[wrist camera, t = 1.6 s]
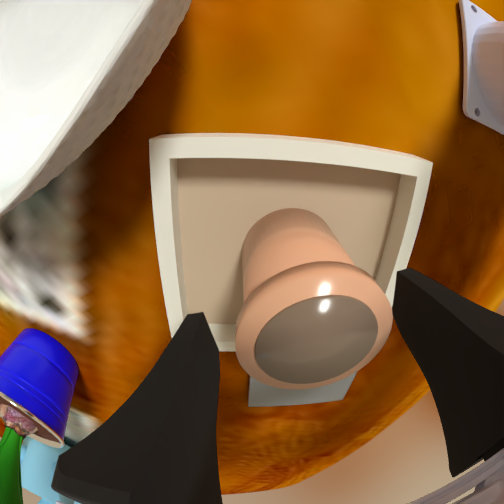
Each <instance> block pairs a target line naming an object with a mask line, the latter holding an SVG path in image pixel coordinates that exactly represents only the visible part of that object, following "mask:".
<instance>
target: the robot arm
mask: <svg viewBox="0 0 504 504" xmlns="http://www.w3.org/2000/svg"><path fill="white" fill-rule="evenodd" d="M459 6H460V13H461V22H462V33H463V50H464V89H463V112H464V114H465V116H467V117H468V118H471V119H473V120H475V121H477V122H479V123H481V124H483V125H485V126H487V127H489V128H491V129H493V130H495V131H497V132H499V133H500V134H502V135H504V21H500V22H498V21H496V20H495V19H494V18H493V17H491V16H490V15H489V14H487V13H486V12H485V11H483V10H482V9H480V8H479V7H478V6H476V5H475V4H473V3H472V2H470V1H469V0H459ZM475 110H476V114H475ZM392 314H393V317H394V319H395V322H396V324H397V326H398V329H399V331H400V333H401V335H402V337H403V339H404V340H405V342H406V344H407V345H408V347H409V349H410V351H411V352H412V354H413V356H414V358H415V359H416V361H417V363H418V365H419V367H420V368H421V370H422V372H423V374H424V376H425V378H426V380H427V382H428V384H429V387H430V389H431V392H432V395H433V397H434V400H435V403H436V406H437V409H438V412H439V416H440V419H441V423H442V427H443V431H444V436H445V440H446V446H447V453H448V459H449V469H450V472H451V475H452V477H455V476H457V475H459V474H460V473H462V472H464V471H465V470H467V469H469V468H470V467H472V466H473V465H475V464H476V463H478V462H480V461H481V460H483V459H484V461H485V462H484V463H482V464H481V465H479V466H478V467H476V468H475V469H473V470H472V471H470V472H468V473H467V474H465V475H463V476H462V477H460V478H458V479H457V480H455V481H453V482H451V483H449V484H447V485H446V486H444V487H442V488H440V489H438V490H436V491H434V492H432V493H430V494H428V495H426V496H424V497H421V498H419V499H417V500H415V501H412V502H410V503H408V504H446V503H448V502H449V501H451V500H453V499H455V498H456V497H458V496H460V495H462V494H463V493H465V492H467V491H468V490H470V489H472V488H473V487H475V486H476V485H477V486H476V487H475V491H474V492H473V493H472V494H470V495H468V496H466V497H464V498H462V499H460V500H458V501H456V502H454V503H453V504H504V316H502V315H500V314H497V313H495V312H493V311H490V310H488V309H486V308H484V307H482V306H480V305H478V304H476V303H474V302H472V301H470V300H468V299H466V298H464V297H462V296H460V295H459V294H457V293H455V292H453V291H452V290H450V289H448V288H446V287H445V286H443V285H441V284H439V283H438V282H436V281H434V280H432V279H431V278H429V277H427V276H425V275H423V274H422V273H420V272H418V271H416V270H414V269H412V268H407V269H404V270H400V271H397V274H396V283H395V292H394V299H393V306H392ZM219 381H220V362H219V349H218V346H217V344H216V342H215V339H214V337H213V334H212V332H211V330H210V327H209V325H208V322H207V320H206V317H205V315H204V312H199V313H193V314H187V316H186V317H185V319H184V320H183V322H182V323H181V325H180V327H179V328H178V330H177V331H176V333H175V335H174V336H173V338H172V340H171V341H170V343H169V344H168V346H167V347H166V349H165V350H164V352H163V354H162V355H161V357H160V358H159V360H158V361H157V363H156V364H155V365H154V367H153V368H152V370H151V371H150V372H149V374H148V375H147V377H146V378H145V379H144V381H143V382H142V383H141V384H140V386H139V387H138V388H137V389H136V391H135V392H134V393H133V394H132V395H131V396H130V397H129V399H128V400H127V401H126V402H125V403H124V404H123V405H122V406H121V407H120V408H119V409H118V410H117V411H116V412H115V413H114V414H113V415H112V416H111V417H110V418H109V419H108V420H107V421H106V422H104V423H103V424H102V425H101V426H100V427H99V428H97V429H96V430H95V431H94V432H92V433H91V434H90V435H89V436H87V437H86V438H85V439H83V440H82V441H81V442H79V443H78V444H76V445H75V446H73V447H72V448H70V449H68V450H67V451H65V452H64V453H62V454H60V455H59V456H58V460H57V464H56V467H55V471H54V475H53V480H52V484H51V488H52V489H53V490H54V491H55V492H57V493H59V494H61V495H63V496H65V497H67V498H69V499H72V500H74V501H76V502H78V503H81V504H223V503H222V497H221V490H220V482H219V472H218V461H217V445H216V420H217V406H218V394H219ZM56 504H64V503H62V502H60V501H56Z"/></svg>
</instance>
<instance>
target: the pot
mask: <svg viewBox="0 0 504 504" xmlns="http://www.w3.org/2000/svg"><path fill="white" fill-rule="evenodd" d="M242 270H243V301H244V303H243V305H242V307H241V309H240V311H239V313H238V316H237V319H236V326H235V349H236V355H237V359H238V361H239V363H240V365H241V367H242V368H243V369H244V370H245V372H246V373H248V374H249V375H250V376H251V377H253V378H254V379H256V380H257V381H259V382H261V383H263V384H266V385H269V386H272V387H277V388H282V389H310V388H316V387H321V386H325V385H328V384H331V383H334V382H337V381H339V380H342V379H344V378H346V377H348V376H350V375H352V374H353V373H355V372H357V371H358V370H360V369H361V368H362V367H364V366H365V365H366V364H368V363H369V362H370V361H371V360H372V359H373V358H374V357H375V356H376V355H377V354H378V352H379V351H380V350H381V349H382V347H383V346H384V344H385V342H386V341H387V339H388V336H389V334H390V331H391V327H392V322H393V314H392V308H391V305H390V302H389V301H388V299H387V297H386V295H385V294H384V292H383V291H382V289H381V288H380V286H379V285H378V283H377V282H376V281H375V280H374V278H373V277H372V276H371V275H369V274H368V273H367V272H366V271H364V270H362V269H360V268H359V267H356V266H355V264H354V263H353V261H352V260H351V258H350V257H349V255H348V254H347V252H346V251H345V249H344V248H343V246H342V245H341V243H340V242H339V240H338V239H337V237H336V236H335V235H334V233H333V232H332V230H331V229H330V227H329V226H328V225H327V223H326V222H325V221H324V220H323V219H322V218H321V217H319V216H318V215H316V214H315V213H313V212H310V211H308V210H304V209H299V208H286V209H280V210H276V211H274V212H271V213H269V214H267V215H265V216H264V217H262V218H261V219H259V220H258V221H257V222H256V223H255V224H254V225H253V226H252V227H251V229H250V230H249V232H248V233H247V235H246V237H245V240H244V243H243V247H242Z"/></svg>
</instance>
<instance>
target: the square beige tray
mask: <svg viewBox="0 0 504 504" xmlns="http://www.w3.org/2000/svg"><path fill="white" fill-rule="evenodd" d="M149 157H150V177H151V192H152V204H153V216H154V226H155V235H156V244H157V252H158V260H159V267H160V274H161V281H162V287H163V293H164V299H165V305H166V311H167V316H168V322H169V327H170V332H171V337H172V338H173V336H174V335H175V333H176V331H177V330H178V328H179V327H180V325H181V323H182V322H183V320H184V319H185V317H186V316H187V314H193V313H199V312H204V315H205V317H206V320H207V322H208V325H209V327H210V330H211V332H212V334H213V337H214V339H215V342H216V344H217V346H218V349H219V351H236V349H235V326H236V319H237V316H238V313H239V311H240V309H241V307H242V305H243V303H244V301H243V270H242V247H243V243H244V240H245V237H246V235H247V233H248V232H249V230H250V229H251V227H252V226H253V225H254V224H255V223H256V222H257V221H258V220H259V219H261V218H262V217H264V216H265V215H267V214H269V213H271V212H274V211H276V210H280V209H286V208H299V209H304V210H308V211H310V212H313V213H315V214H316V215H318V216H319V217H321V218H322V219H323V220H324V221H325V222H326V223H327V225H328V226H329V227H330V229H331V230H332V232H333V233H334V235H335V236H336V237H337V239H338V240H339V242H340V243H341V245H342V246H343V248H344V249H345V251H346V252H347V254H348V255H349V257H350V258H351V260H352V261H353V263H354V264H355V266H356V267H359V268H360V269H362V270H364V271H366V272H367V273H368V274H369V275H371V276H372V277H373V278H374V280H375V281H376V282H377V283H378V285H379V286H380V288H381V289H382V291H383V292H384V294H385V295H386V297H387V299H388V301H389V302H390V305H391V308H392V306H393V299H394V292H395V283H396V274H397V271H400V270H404V269H406V268H407V265H408V262H409V258H410V255H411V252H412V249H413V246H414V242H415V239H416V235H417V232H418V228H419V225H420V221H421V217H422V213H423V209H424V205H425V201H426V196H427V192H428V187H429V182H430V177H431V172H432V166H433V162H430V161H428V160H425V159H423V158H420V157H418V156H415V155H412V154H408V153H403V152H398V151H393V150H388V149H383V148H378V147H372V146H366V145H360V144H354V143H347V142H340V141H332V140H324V139H315V138H306V137H295V136H282V135H267V134H243V133H186V134H163V135H159V136H156V137H153V138H151V139H149Z"/></svg>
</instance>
